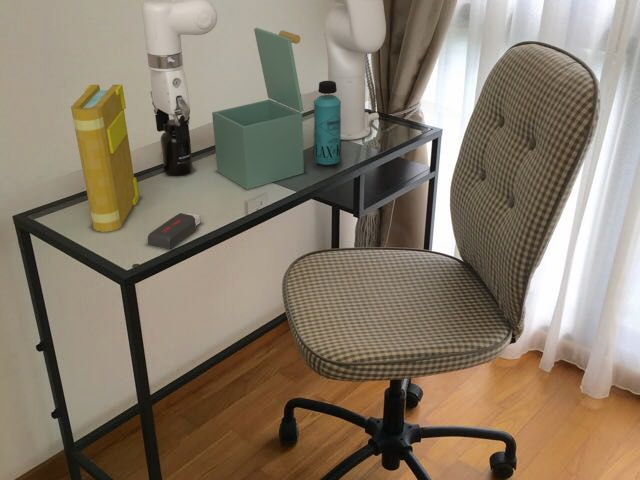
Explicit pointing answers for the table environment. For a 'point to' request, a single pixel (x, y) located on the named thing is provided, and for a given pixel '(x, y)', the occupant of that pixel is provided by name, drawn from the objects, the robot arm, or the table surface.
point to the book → (105, 155)
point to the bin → (258, 143)
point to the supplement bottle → (175, 152)
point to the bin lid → (279, 67)
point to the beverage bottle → (327, 125)
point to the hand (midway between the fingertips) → (173, 135)
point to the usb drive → (174, 230)
